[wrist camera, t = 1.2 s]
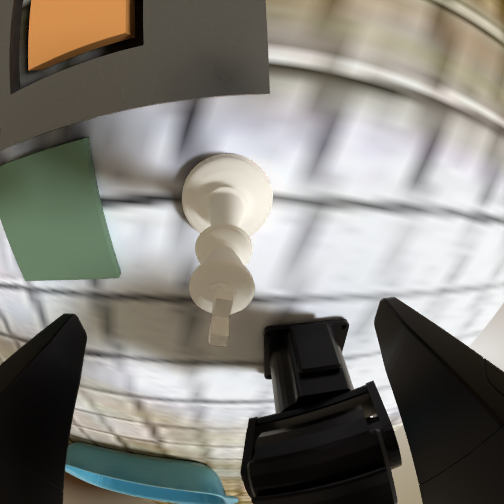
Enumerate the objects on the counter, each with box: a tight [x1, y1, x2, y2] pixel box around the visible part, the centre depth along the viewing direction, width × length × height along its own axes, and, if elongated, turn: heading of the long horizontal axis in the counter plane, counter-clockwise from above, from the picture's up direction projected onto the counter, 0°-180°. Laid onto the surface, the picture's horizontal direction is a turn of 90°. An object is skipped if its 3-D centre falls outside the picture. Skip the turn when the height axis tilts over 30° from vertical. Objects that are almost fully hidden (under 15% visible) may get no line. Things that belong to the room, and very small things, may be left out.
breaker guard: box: [0, 0, 270, 151], centre depth 8 cm, size 12×16×4 cm
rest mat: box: [0, 137, 121, 281], centre depth 15 cm, size 9×9×1 cm
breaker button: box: [28, 0, 135, 70], centre depth 7 cm, size 5×5×1 cm
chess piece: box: [182, 154, 273, 347], centre depth 11 cm, size 5×5×10 cm
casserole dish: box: [65, 442, 238, 504], centre depth 39 cm, size 37×22×7 cm, turn 90°
